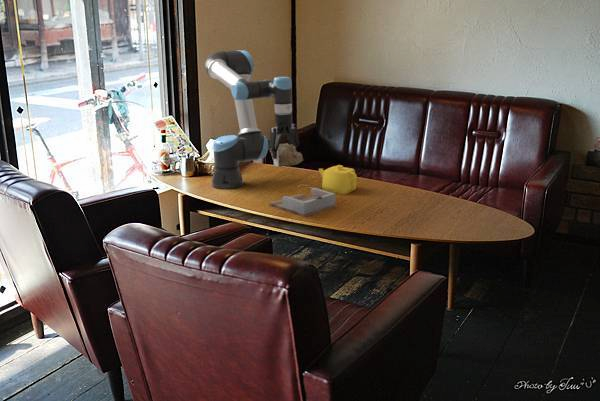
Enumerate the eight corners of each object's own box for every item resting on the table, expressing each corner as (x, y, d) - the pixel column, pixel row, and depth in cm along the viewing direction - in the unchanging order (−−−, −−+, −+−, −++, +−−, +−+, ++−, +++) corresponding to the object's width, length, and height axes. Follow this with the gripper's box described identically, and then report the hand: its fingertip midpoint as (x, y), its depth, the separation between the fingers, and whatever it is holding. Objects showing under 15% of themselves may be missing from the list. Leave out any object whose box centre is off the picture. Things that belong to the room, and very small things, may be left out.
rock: (283, 156, 274) (295, 140, 279) (262, 155, 282) (274, 140, 287) (294, 174, 281) (305, 159, 286) (273, 173, 289) (284, 158, 294)
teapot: (312, 189, 304) (312, 165, 301) (325, 183, 314) (326, 159, 311) (349, 196, 294) (350, 171, 290) (362, 189, 304) (363, 165, 300)
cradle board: (268, 205, 282) (268, 202, 281) (299, 196, 294) (299, 193, 294) (304, 217, 267) (304, 214, 266) (335, 206, 279) (335, 204, 279)
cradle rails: (282, 207, 275) (282, 195, 273) (313, 197, 288) (313, 186, 286) (305, 214, 266) (305, 202, 264) (336, 204, 278) (336, 192, 277)
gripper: (270, 117, 269) (272, 169, 275) (307, 111, 284) (307, 160, 290) (258, 115, 274) (260, 166, 281) (295, 109, 289) (296, 158, 295)
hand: (284, 163), depth 285 cm, fingers closed on rock, 9 cm apart
